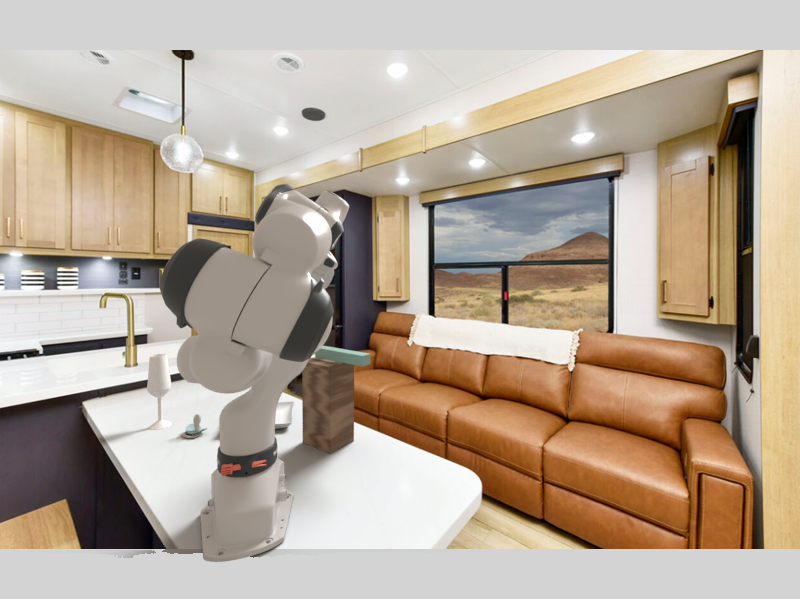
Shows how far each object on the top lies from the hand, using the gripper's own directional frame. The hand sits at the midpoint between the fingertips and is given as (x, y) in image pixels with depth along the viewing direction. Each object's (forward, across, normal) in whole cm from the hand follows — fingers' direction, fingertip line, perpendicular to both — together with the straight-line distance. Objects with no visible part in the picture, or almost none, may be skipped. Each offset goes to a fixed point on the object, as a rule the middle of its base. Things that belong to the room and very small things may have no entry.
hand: (284, 289), depth 97 cm
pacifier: (+59, -2, -1) cm, 59 cm away
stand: (+35, +28, -20) cm, 49 cm away
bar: (+10, +21, -12) cm, 26 cm away
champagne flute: (+69, -10, +10) cm, 70 cm away
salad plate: (+52, +17, +1) cm, 55 cm away
